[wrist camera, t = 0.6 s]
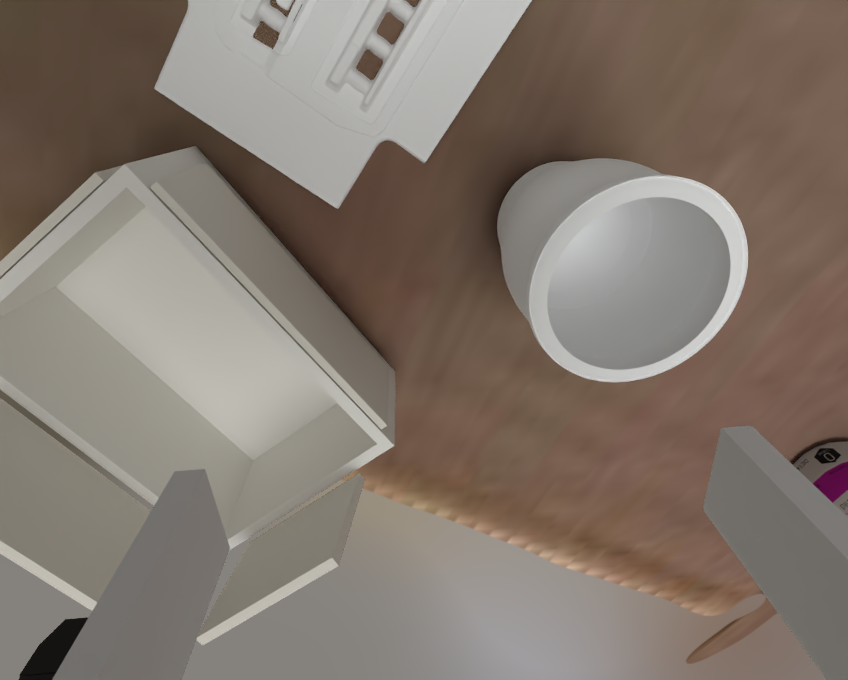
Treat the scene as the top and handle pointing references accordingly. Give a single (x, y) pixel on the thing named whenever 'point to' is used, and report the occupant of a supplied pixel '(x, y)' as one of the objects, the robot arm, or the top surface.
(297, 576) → the end flap
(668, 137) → the top surface
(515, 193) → the jar
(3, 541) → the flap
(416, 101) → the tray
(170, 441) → the carton
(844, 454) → the supplement can
